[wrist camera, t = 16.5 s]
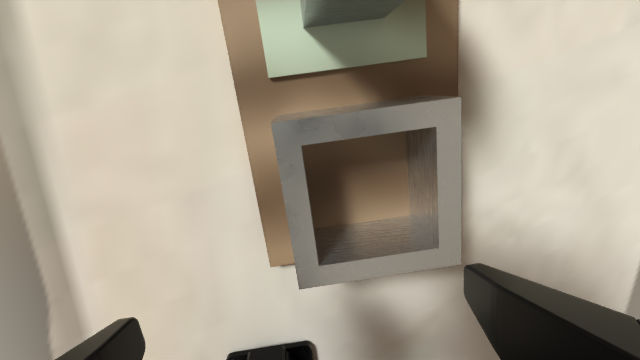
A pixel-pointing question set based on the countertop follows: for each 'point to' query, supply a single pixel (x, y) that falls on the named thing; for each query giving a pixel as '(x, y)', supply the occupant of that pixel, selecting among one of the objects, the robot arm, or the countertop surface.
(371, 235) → the socket
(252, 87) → the stand board
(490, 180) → the countertop surface
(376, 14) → the steel key
